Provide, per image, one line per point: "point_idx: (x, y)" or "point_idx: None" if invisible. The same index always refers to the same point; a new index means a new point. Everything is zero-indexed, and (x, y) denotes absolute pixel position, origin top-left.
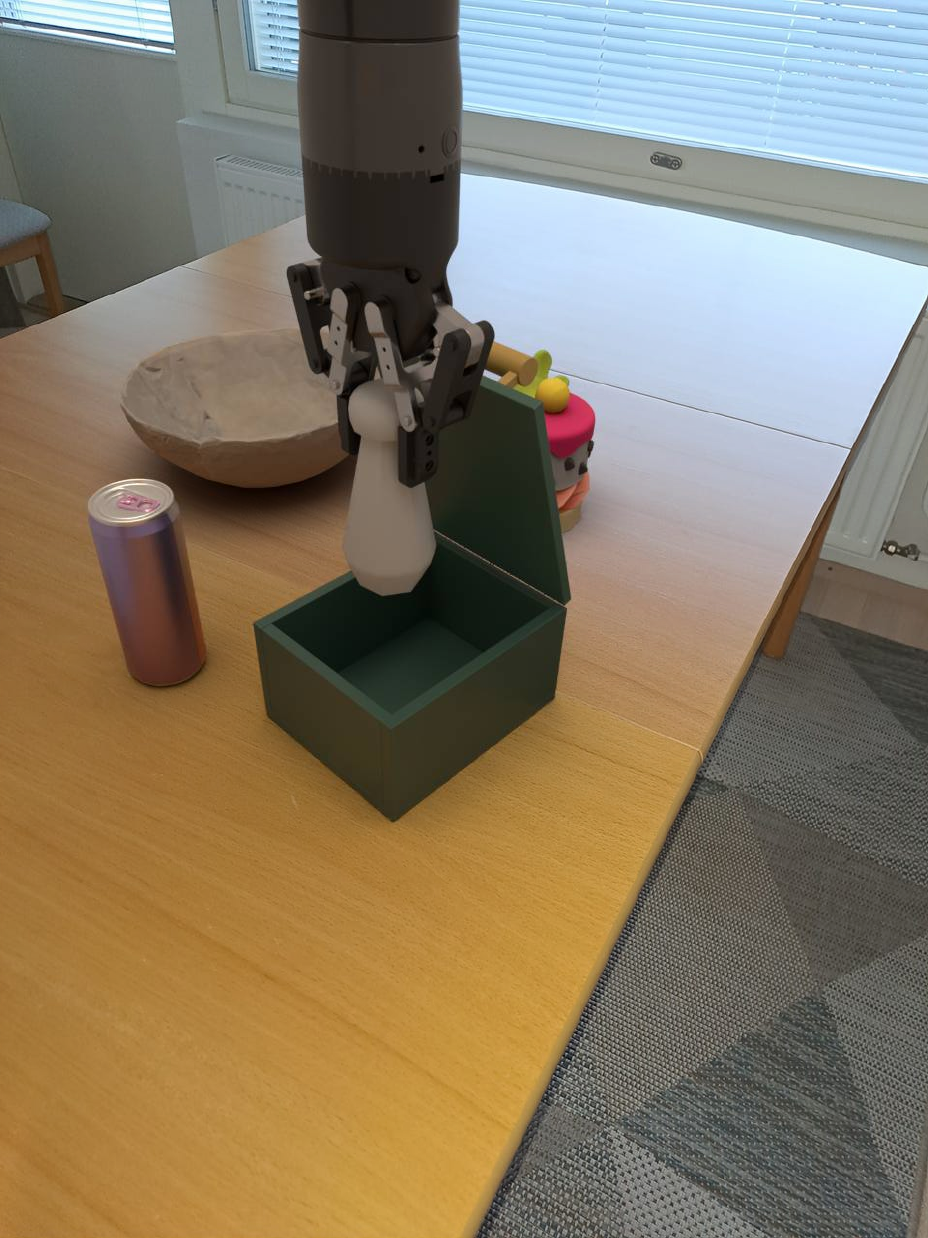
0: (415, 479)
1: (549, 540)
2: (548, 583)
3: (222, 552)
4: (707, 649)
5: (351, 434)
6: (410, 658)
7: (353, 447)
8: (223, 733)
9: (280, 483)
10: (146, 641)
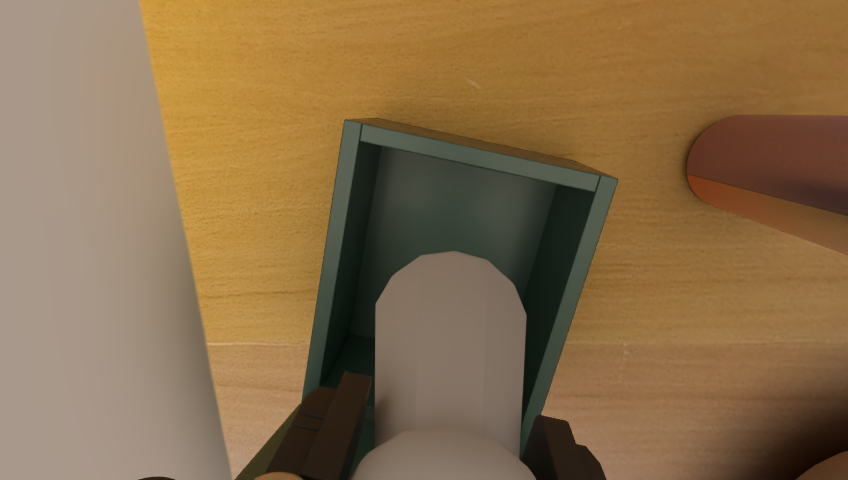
0: (328, 390)
1: (267, 454)
2: None
3: (796, 347)
4: None
5: (545, 455)
6: None
7: (537, 432)
8: (598, 114)
9: (802, 474)
10: (757, 123)
